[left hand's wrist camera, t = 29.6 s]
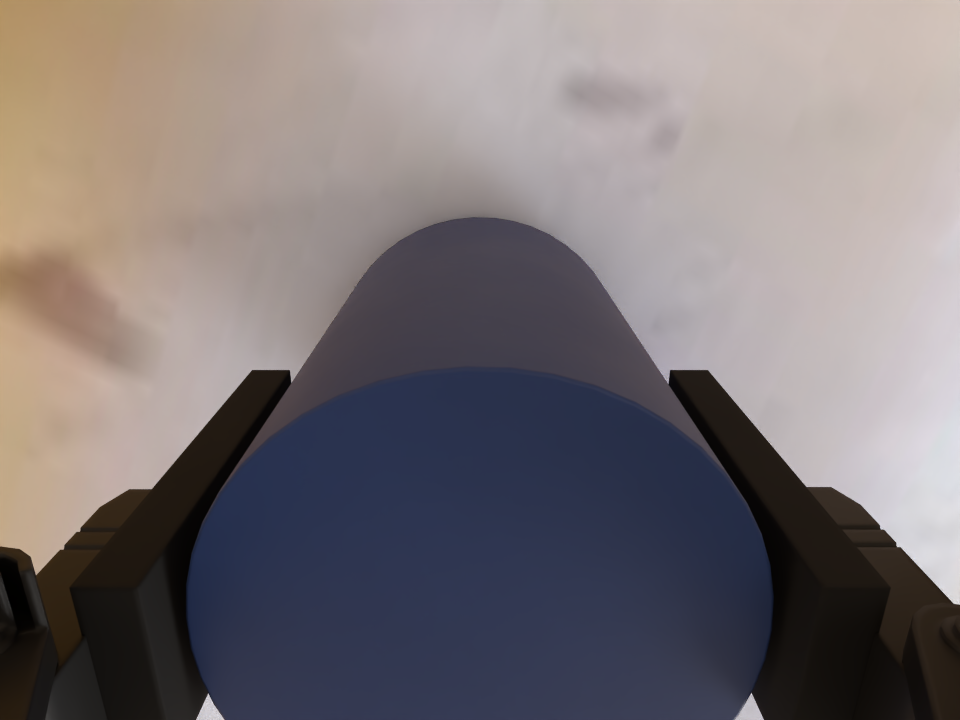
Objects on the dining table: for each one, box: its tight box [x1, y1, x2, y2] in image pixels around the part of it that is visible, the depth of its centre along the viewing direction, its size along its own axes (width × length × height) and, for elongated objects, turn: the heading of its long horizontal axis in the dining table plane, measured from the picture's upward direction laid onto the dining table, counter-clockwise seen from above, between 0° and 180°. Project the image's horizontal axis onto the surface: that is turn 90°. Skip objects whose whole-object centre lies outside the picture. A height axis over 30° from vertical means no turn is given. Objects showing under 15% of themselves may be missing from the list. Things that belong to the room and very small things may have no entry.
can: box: [186, 218, 774, 720], centre depth 13 cm, size 7×7×10 cm
